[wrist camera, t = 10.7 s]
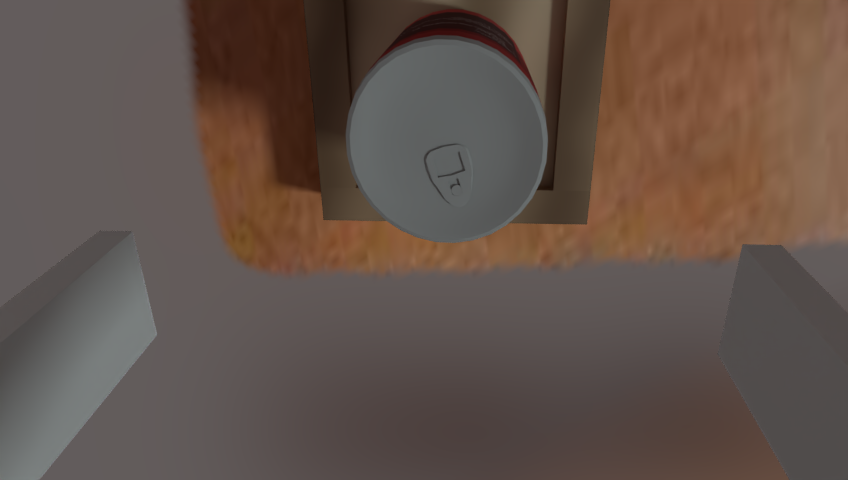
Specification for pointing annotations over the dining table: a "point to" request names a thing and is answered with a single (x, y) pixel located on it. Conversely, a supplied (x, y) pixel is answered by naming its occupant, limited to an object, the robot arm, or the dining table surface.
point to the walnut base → (544, 56)
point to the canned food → (448, 129)
